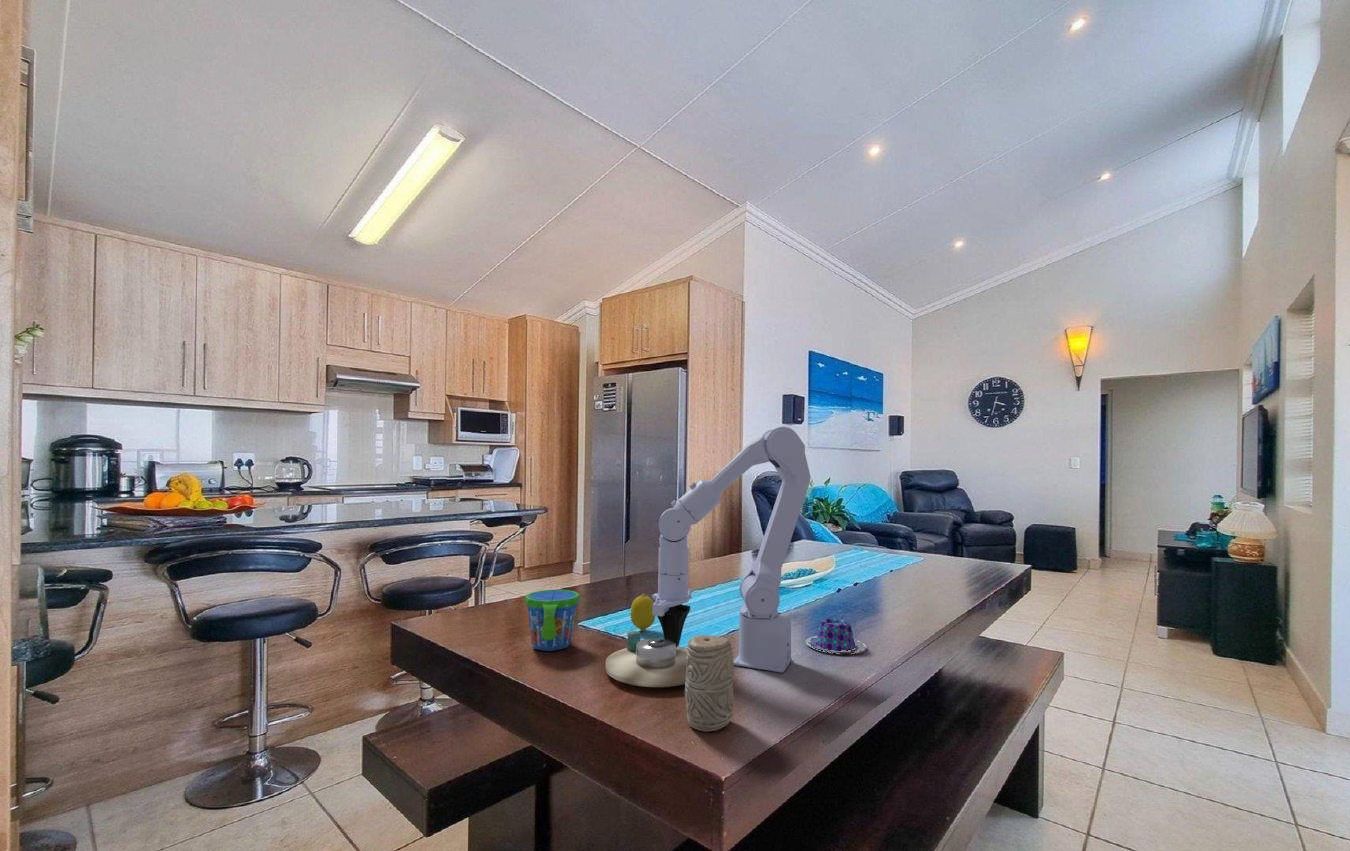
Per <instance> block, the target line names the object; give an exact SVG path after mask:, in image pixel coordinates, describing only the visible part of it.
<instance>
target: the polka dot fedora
mask: <svg viewBox="0 0 1350 851" xmlns="http://www.w3.org/2000/svg"><path fill="white" fill-rule="evenodd" d="M811 638H817V640H816V643H815V644H816V645H817V646H820V647H821V648H823V649H828V650H835V651H841V650H846V651H848V650H852V649H854V648H856V649H857V647H856V645H855V641H854V639H855V638H854V634H853V629H852V626H851V624H850V622H848V621H847V620H845V619H844V620H843V619H839V618H824V619H822V620H821V622H820V623H819V629H818V632H817V635H813V636H809V637H808V638H806V639H805V644H806V645H807V646H808V647H810V648H812V649H814V650H816V651H819V652H824V653H826V652H825V651H824V650H823V651H821V650H818V649H819V648H818V649H815V648H813V647H811V645H810V644H809V643H808V642H811V641H810V640H811ZM856 640H857V641H858V642H861V641H859V640H858V639H856ZM863 645H864V646H865V649H864V650H863V651H861V652H858V653H857V654H859V653H862V652H865V651H867V650H866V649H867V645H866V644H865V643H863ZM827 652H828V653H829V654H832V653H831V651H827ZM850 653H851V652H850ZM854 654H855V653H851V654H850V655H854ZM836 655H841V654H840V653H836Z"/></svg>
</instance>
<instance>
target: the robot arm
mask: <svg viewBox="0 0 1350 851" xmlns="http://www.w3.org/2000/svg"><path fill="white" fill-rule="evenodd" d="M805 446H806V445H805V444H804V442H803V440H802V439H801V438H800V436H799V435H798V434H797V432H796V431H795V430H794V429H792V428H790V427H788V426H778V427H776V428H774V429H770V430H767V431H766V432H764V433H763V434H762V436H761V437H757V438H756V439H755V440H753V441H752V442H750V443H749V444H748V445H746V446H745V447H743V448H742V449H741V450H740V451H739V452H738V453H737V454H736V455H735V456H734V457H733V458H732V459H731V460H730V461H729V462H728V463H726V465H725V466H724V467H723V468H721V469H720V471H718V472H717V474H715V475H714V476H713V477H712V478H711V479H710V480H707V479H700V480H698V481H697V483H696V482H695V481H692V483H690V485H689V489H688V491H686V492H685V493H684V494H683V495H682V496H680V498H678V500H674V499H673V501H672V502H670V503H671V506H672V507H671V508H668V509H666V510H664V511H663V512H662V514H661V515H660V518H659V520H658V530H659V532H660V536H659V539H658V542H659V547H658V559H657V560H658V562H657V564H658V565H657V566H658V568H657V569H658V570H657V571H658V574H657V593H654V594H652V595H651V596H652V598H651V599H652V600H654V601H655V602H654V604H653V606H652V615H654V616H655V617H657V619H658V620H659V621H658V622H659V624H660V626H661V630H662V634H663V639H666V640H670V641H673V642H674V643H675V644H676V647H680V643H681V642H680V641H681V638H682V633H683V629H684V626H685V621H686V619H687V618H688V615H689V612H690V611H691V606H690V605H687V603H689V601H690V600H691V599H692V588H689V559H690V558H689V553H690V552H689V550H690V549H689V547H688V535H689V533H690V530H691V526H692V525H698V523H699V522H701V521H702V519H704V518H705V517H706V516H707V515H708V514H709V513H710V512H711V511H712V510H714V509H715V508H716V507H717V506H719V504H720V503H721V500H722V499H721V497H722V496H721V495H722V492H723V491H724V490H726V489H727V488H728V487H730V485H732V484H733V483H734V482H735V481H736V480H737V479H739V478H740V477H741V476H743V474H745V473H746V472H747V471H748V470H749V469H751V468H752V467H753V466H756V465H757V466H758V465H761V464H766V463H770V464H772V465H773V467H774V468H775V470H776V472H777V474H778V475H779V477H780V479H781V484H780V488H779V490H778V493H777V496H776V499H775V502H774V504H773V509H772V510H771V514H770V517H769V521H768V523H767V526H766V529H765V531H764V535H763V538H762V542H761V545H760V548H759V550H758V553H757V557H756V558H755V560H754V561H753V563H752V565H751V567H750V570H749V571H748V573H747V575H745V576H744V577H743V578H742V580H741V581H740V585H739V593H740V596H741V598H742V599H743V601H744V603H743V605H742V606H741V607H740V609H739V643H738V644H739V646H738V648H739V649H738V650H739V651H738V652H739V653H738V656H736V657H735V658H734V659H733V661H734V666H740V667H745V668H746V667H747V668H752V669H757V670H765V671H771V672H777V673H784V672H786V671H785V670H786V669H787V667H788V666H789V664H790V662H791V661H792V659H793V657H792V622H791V618H789V617H787V616H785V615H784V616H783V615H781V614H779V610H778V608H779V606H780V603H781V602H780V600H781V599H780V598H781V597H780V593H779V592H780V591H779V590H780V586H781V582H782V569H783V568H782V567H783V565H784V562H785V559H786V556H787V552H788V549H789V547H790V543H791V541H792V537H793V534H794V531H795V529H796V525H797V523H798V520H799V516H800V514H801V510H802V507H803V505H804V501H805V498H806V495H807V491H808V489H809V486H810V483H811V478H812V477H811V472H810V468H809V464H808V460H807V457H806V456H807V455H806V447H805Z"/></svg>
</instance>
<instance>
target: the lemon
mask: <svg viewBox="0 0 1350 851" xmlns="http://www.w3.org/2000/svg"><path fill="white" fill-rule="evenodd" d="M654 603H655V602H654V599H652V598H651V597H650V596H647V595H646V594H645V593H642V594H641V595H639V596H637V597H636V598H635V599H634V600H632V603H631V607H630V621H631V623H632V624H633V626H634V627H635V628H637V629H639V630H640V631H641V632H645V631H646V629H648V628H650V627H651V626H652V625H653V624H654V622H655V621H656V620H655V619H656V616H654V615H652V606H653V604H654Z"/></svg>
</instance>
